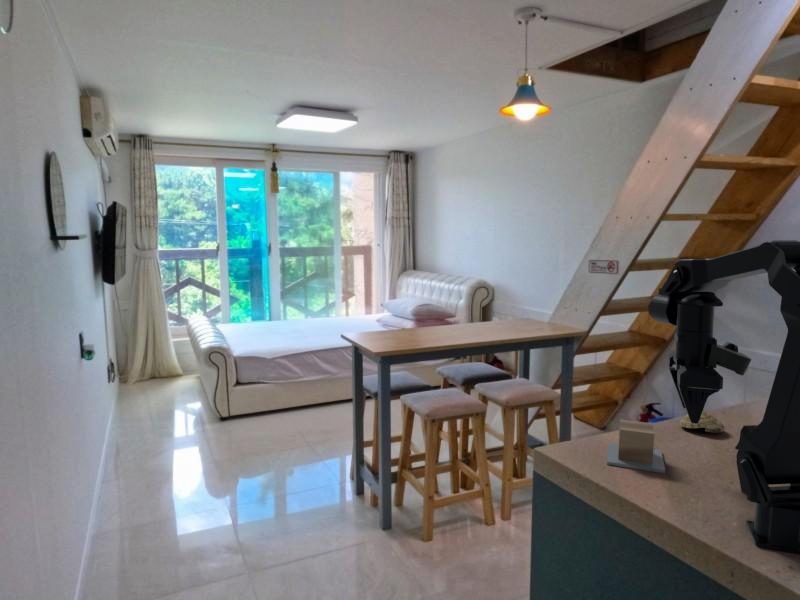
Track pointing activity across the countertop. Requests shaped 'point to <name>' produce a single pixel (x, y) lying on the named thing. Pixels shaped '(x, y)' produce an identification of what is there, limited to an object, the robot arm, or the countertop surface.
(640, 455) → the beige cube
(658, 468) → the coaster
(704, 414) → the seashell
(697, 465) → the countertop surface
